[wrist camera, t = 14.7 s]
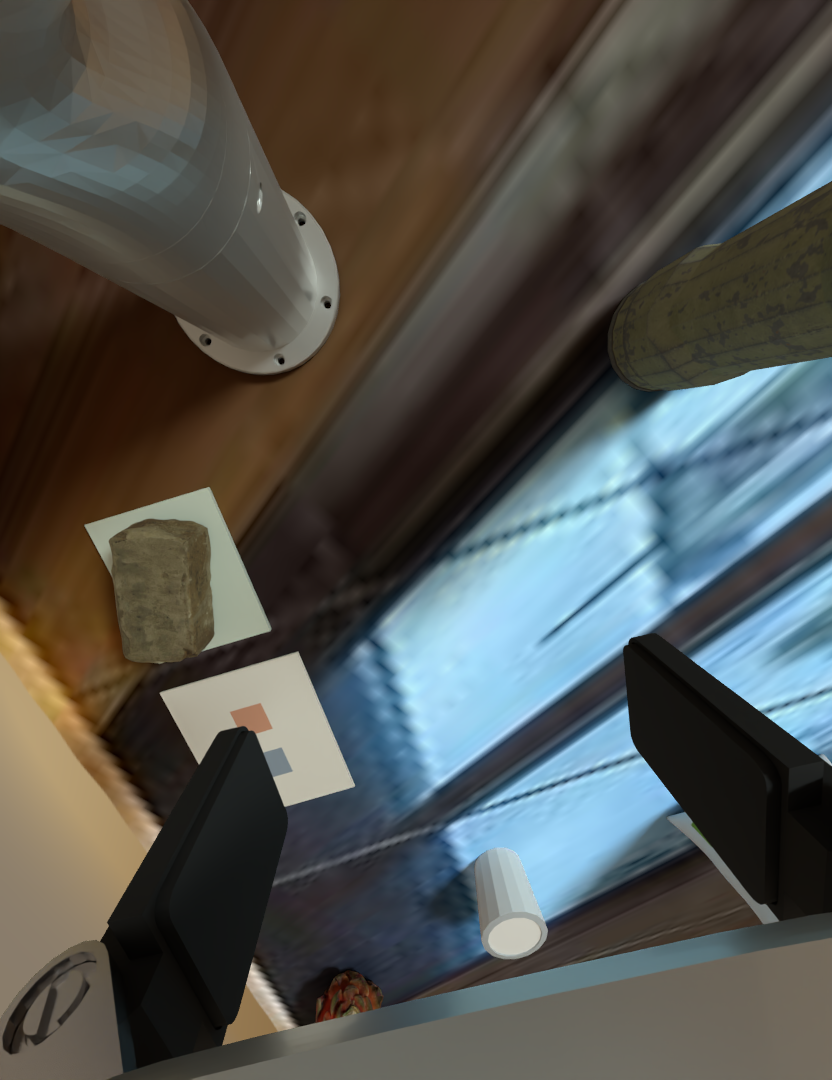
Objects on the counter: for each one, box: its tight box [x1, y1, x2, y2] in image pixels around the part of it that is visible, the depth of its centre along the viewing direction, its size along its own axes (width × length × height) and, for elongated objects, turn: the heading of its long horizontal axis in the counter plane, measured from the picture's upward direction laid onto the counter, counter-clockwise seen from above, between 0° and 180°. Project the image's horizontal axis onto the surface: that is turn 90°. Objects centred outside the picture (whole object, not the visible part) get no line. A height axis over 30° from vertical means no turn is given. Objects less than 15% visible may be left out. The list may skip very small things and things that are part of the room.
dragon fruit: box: [316, 970, 383, 1023], centre depth 48 cm, size 8×8×12 cm
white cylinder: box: [474, 848, 548, 959], centre depth 44 cm, size 7×7×7 cm
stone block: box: [109, 519, 215, 663], centre depth 33 cm, size 6×12×5 cm, turn 177°
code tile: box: [160, 652, 355, 807], centre depth 41 cm, size 17×14×1 cm
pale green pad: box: [84, 487, 271, 664], centre depth 36 cm, size 14×11×1 cm
